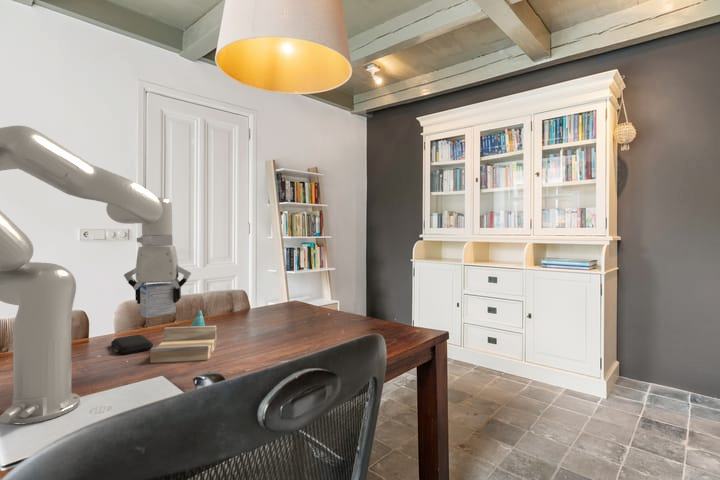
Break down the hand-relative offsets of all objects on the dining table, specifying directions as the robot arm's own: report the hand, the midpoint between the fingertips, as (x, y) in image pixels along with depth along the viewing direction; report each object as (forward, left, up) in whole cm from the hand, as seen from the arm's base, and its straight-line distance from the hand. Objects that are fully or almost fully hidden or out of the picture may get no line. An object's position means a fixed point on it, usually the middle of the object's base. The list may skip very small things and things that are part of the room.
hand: (158, 302), depth 106 cm
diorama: (+37, +1, -19) cm, 42 cm away
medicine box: (0, 0, -4) cm, 4 cm away
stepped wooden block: (+11, -4, -19) cm, 22 cm away
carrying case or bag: (+21, +15, -19) cm, 32 cm away
